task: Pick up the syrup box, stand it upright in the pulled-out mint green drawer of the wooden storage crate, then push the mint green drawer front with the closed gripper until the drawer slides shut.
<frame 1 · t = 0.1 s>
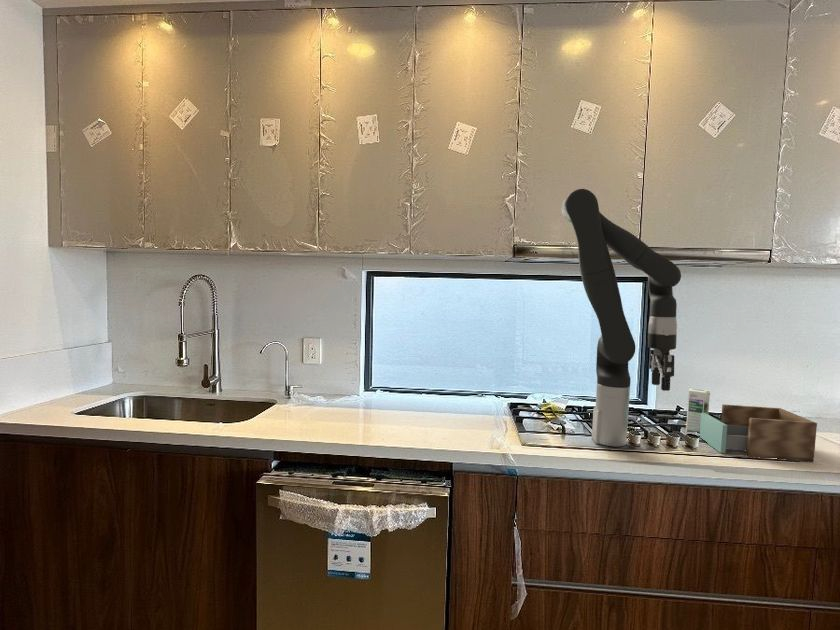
hand: (660, 387, 156), 17 cm above the worktop, tool pointing down, fingers open, 8 cm apart
wooden storage crate: (763, 450, 157), on the worktop
mint green drawer: (735, 433, 158), point 4 cm above the worktop, slide at 7.0 cm
syrup box: (696, 434, 172), on the worktop
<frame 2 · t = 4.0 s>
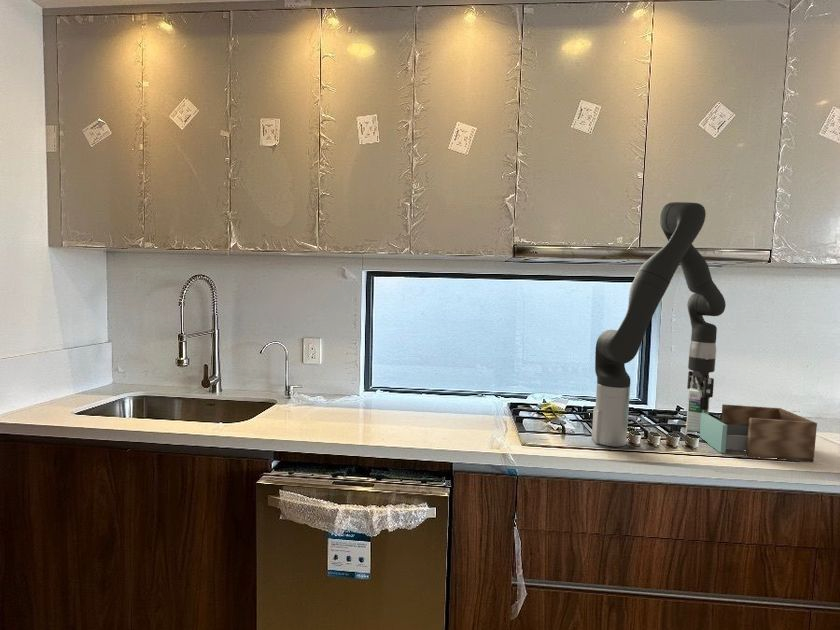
hand: (698, 406, 171), 9 cm above the worktop, tool pointing down, fingers closed on syrup box, 7 cm apart
syrup box: (696, 434, 172), on the worktop, touching gripper
everything else where it was.
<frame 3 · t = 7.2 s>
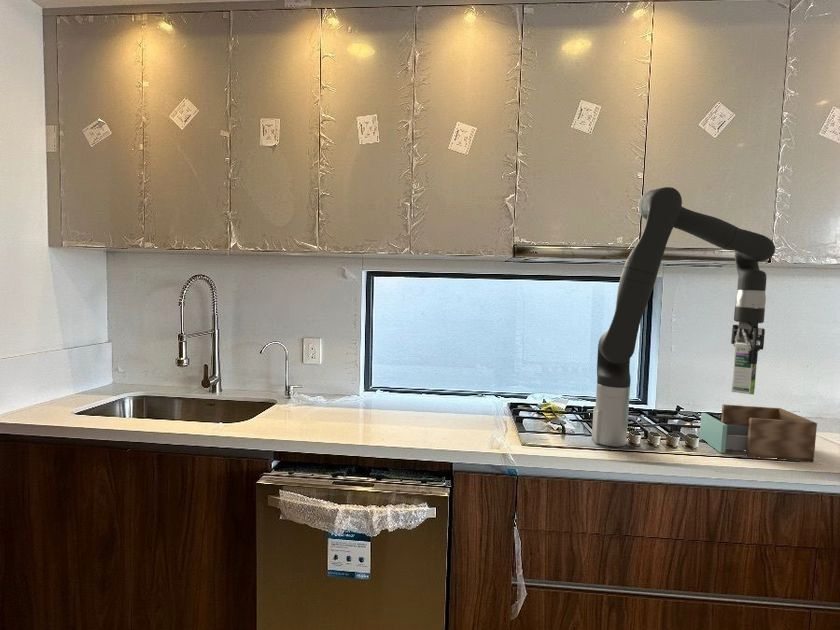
hand: (745, 361, 157), 26 cm above the worktop, tool pointing down, fingers closed on syrup box, 7 cm apart
syrup box: (742, 392, 157), point 17 cm above the worktop, touching gripper
everything else where it was.
when the fingers open (13 cm above the worktop, at t = 10.7 s): syrup box drops 1 cm, resting on mint green drawer.
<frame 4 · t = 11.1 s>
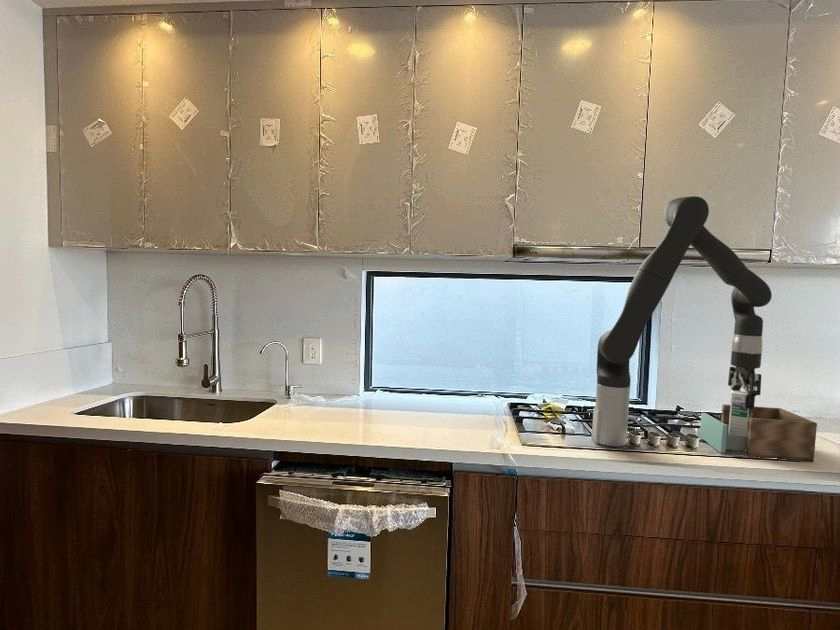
hand: (742, 405, 157), 13 cm above the worktop, tool pointing down, fingers open, 8 cm apart
mint green drawer: (735, 433, 158), point 4 cm above the worktop, slide at 7.0 cm, touching syrup box
syrup box: (738, 441, 158), point 2 cm above the worktop, touching mint green drawer
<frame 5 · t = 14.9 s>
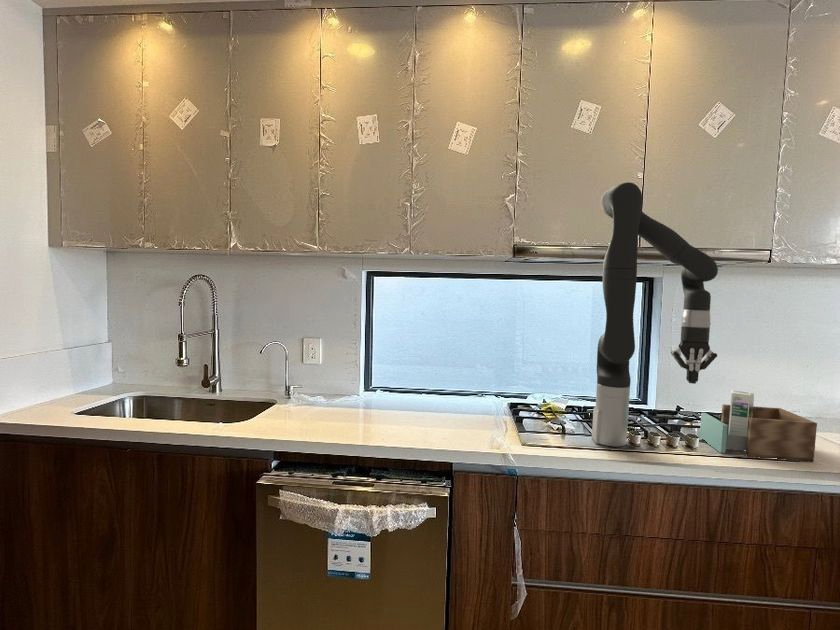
hand: (691, 383, 160), 18 cm above the worktop, tool pointing down, fingers closed
nothing on the worktop moved.
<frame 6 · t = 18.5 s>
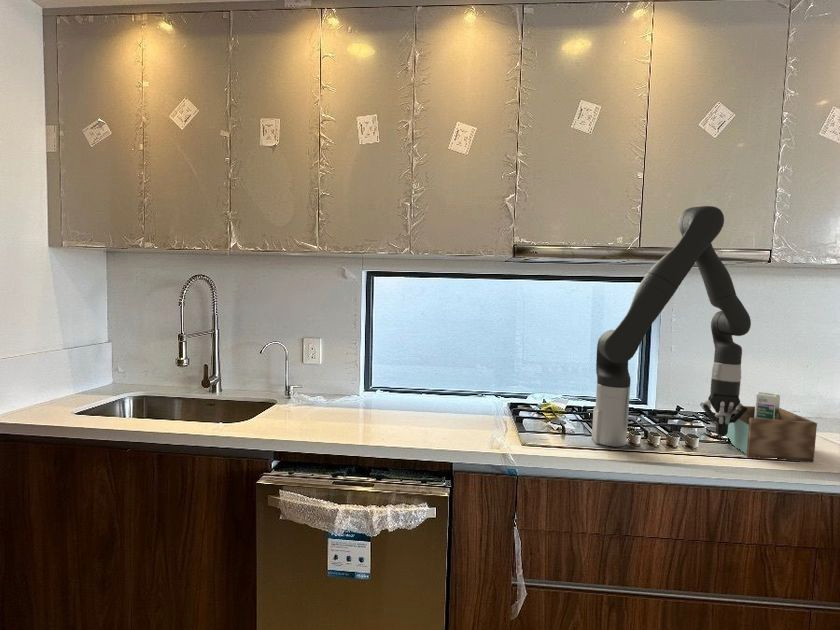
hand: (721, 435, 160), 3 cm above the worktop, tool pointing down, fingers closed
mint green drawer: (760, 435, 157), point 4 cm above the worktop, slide at -0.1 cm, touching hand, syrup box
syrup box: (763, 442, 157), point 2 cm above the worktop, touching mint green drawer
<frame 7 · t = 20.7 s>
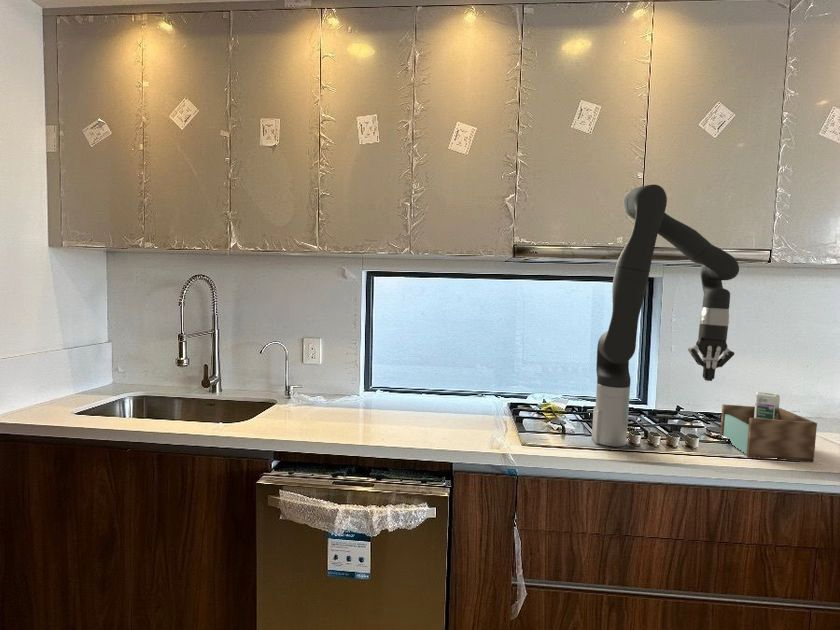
hand: (707, 380, 161), 19 cm above the worktop, tool pointing down, fingers closed
mint green drawer: (760, 435, 157), point 4 cm above the worktop, slide at 0.0 cm, touching syrup box
everything else where it was.
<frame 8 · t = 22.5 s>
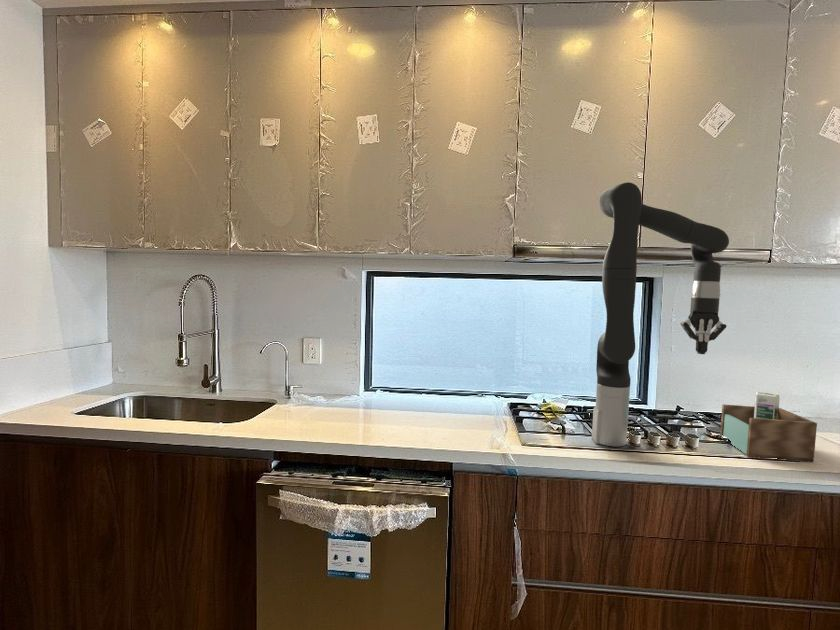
hand: (700, 353, 162), 27 cm above the worktop, tool pointing down, fingers closed
nothing on the worktop moved.
at the end: mint green drawer slide at 0.1 cm; syrup box inside the target area on the wooden storage crate (0.1 cm from its centre), point 2.1 cm above the wooden storage crate's base; syrup box tilted 0° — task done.
